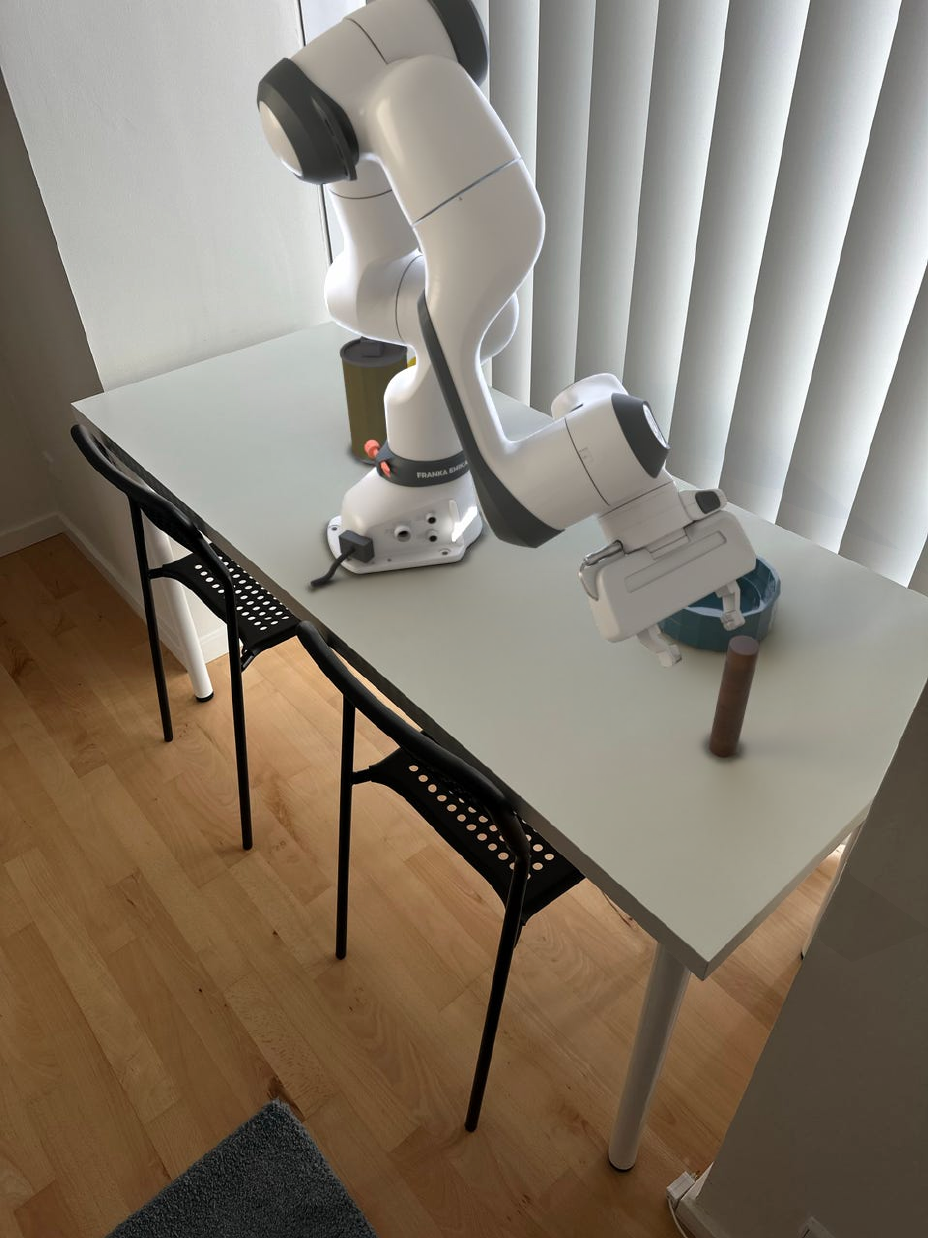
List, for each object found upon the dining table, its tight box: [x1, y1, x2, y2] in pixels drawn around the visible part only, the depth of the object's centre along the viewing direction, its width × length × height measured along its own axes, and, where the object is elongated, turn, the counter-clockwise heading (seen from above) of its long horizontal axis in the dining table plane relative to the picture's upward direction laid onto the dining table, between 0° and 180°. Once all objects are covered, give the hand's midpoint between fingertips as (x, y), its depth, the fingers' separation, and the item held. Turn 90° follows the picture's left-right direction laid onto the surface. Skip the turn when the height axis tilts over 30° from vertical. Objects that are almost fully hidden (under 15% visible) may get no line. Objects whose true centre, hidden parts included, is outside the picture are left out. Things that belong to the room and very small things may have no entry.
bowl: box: [657, 554, 782, 652], centre depth 119 cm, size 15×15×6 cm
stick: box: [708, 636, 761, 758], centre depth 99 cm, size 3×3×15 cm
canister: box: [339, 335, 408, 466], centre depth 150 cm, size 11×10×20 cm
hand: (705, 645), depth 98 cm, fingers open, 8 cm apart
